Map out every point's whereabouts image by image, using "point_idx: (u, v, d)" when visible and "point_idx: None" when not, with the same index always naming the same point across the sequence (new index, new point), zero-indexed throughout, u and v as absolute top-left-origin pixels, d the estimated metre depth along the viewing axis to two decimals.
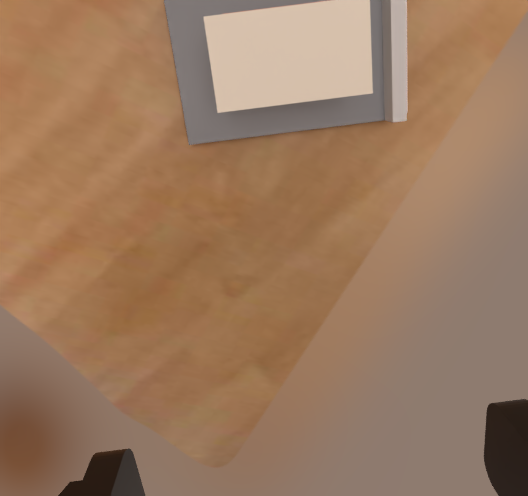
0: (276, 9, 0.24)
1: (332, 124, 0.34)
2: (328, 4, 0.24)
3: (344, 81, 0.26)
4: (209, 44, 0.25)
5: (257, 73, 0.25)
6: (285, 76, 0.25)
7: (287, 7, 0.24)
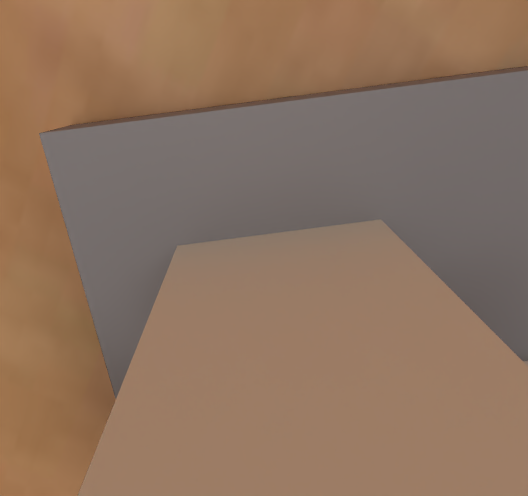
0: None
1: None
2: None
3: None
4: None
5: None
6: None
7: None
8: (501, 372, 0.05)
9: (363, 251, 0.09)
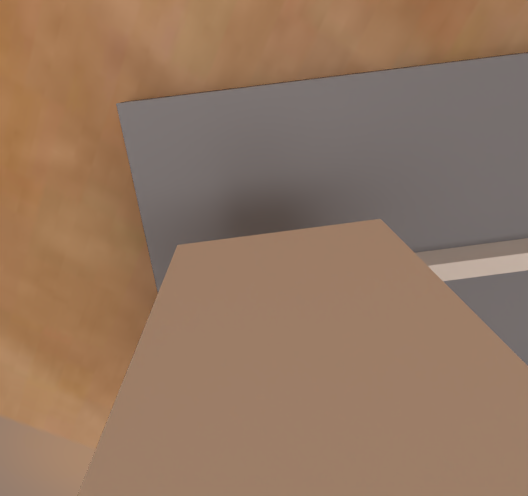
0: None
1: None
2: None
3: None
4: None
5: None
6: None
7: None
8: (499, 370, 0.05)
9: (363, 250, 0.09)
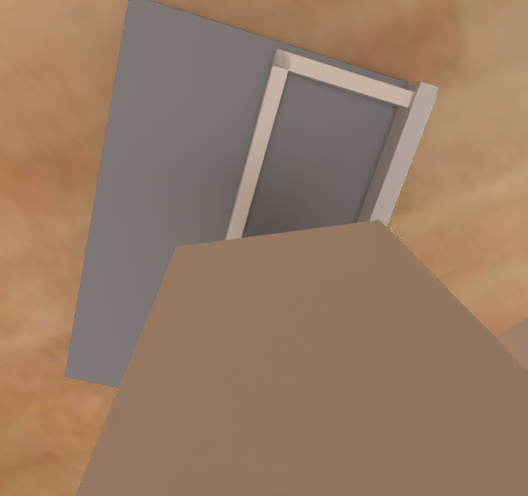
0: None
1: None
2: None
3: None
4: None
5: None
6: None
7: None
8: (498, 373, 0.05)
9: (361, 251, 0.09)
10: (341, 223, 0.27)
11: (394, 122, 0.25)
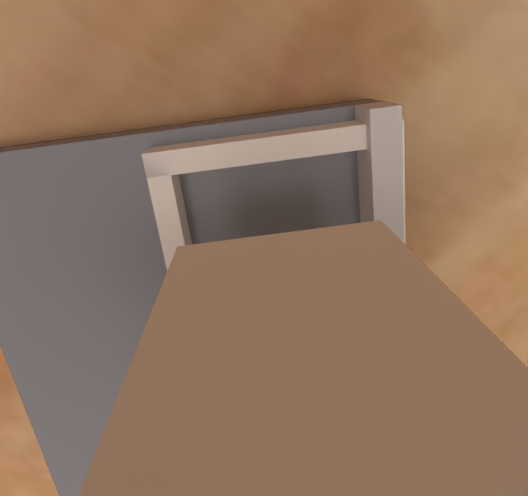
0: None
1: None
2: None
3: None
4: None
5: None
6: None
7: None
8: (501, 373, 0.05)
9: (363, 252, 0.09)
10: None
11: (359, 167, 0.16)
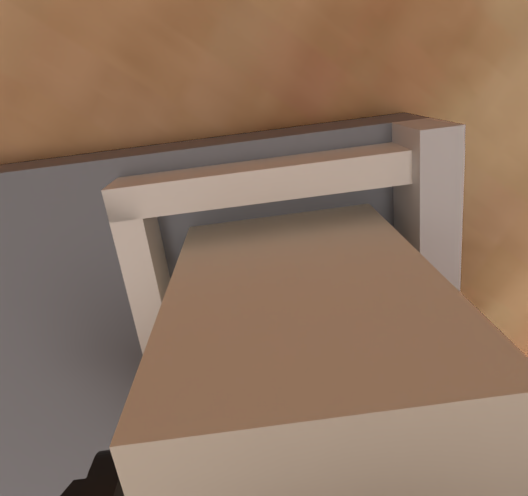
0: None
1: None
2: None
3: None
4: (434, 412, 0.05)
5: None
6: None
7: None
8: (452, 309, 0.07)
9: (352, 229, 0.11)
10: None
11: (396, 204, 0.12)
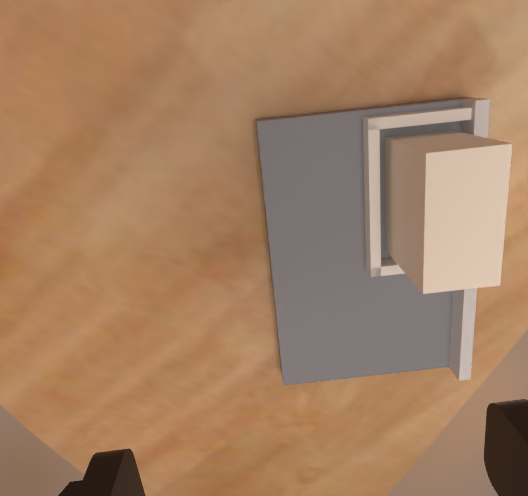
0: (504, 209, 0.27)
1: (405, 370, 0.41)
2: (500, 253, 0.28)
3: (436, 270, 0.28)
4: (488, 148, 0.26)
5: (456, 192, 0.27)
6: (449, 218, 0.27)
7: (504, 219, 0.27)
8: (489, 140, 0.28)
9: (450, 134, 0.32)
10: None
11: (462, 130, 0.33)
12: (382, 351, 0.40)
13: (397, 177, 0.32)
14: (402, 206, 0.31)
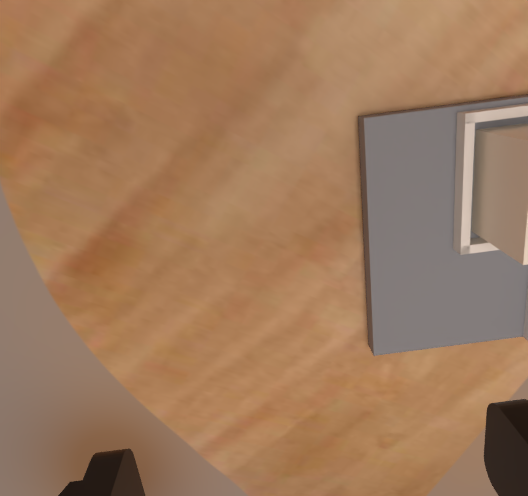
0: None
1: (483, 340, 0.45)
2: None
3: None
4: None
5: None
6: None
7: None
8: None
9: None
10: None
11: None
12: (464, 322, 0.44)
13: (492, 164, 0.36)
14: (498, 189, 0.35)
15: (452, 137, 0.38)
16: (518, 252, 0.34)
